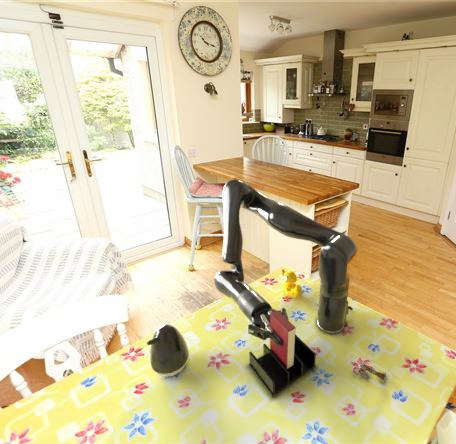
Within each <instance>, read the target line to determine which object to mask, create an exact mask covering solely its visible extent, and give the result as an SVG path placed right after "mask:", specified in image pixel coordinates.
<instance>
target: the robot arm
mask: <svg viewBox="0 0 456 444" xmlns="http://www.w3.org/2000/svg"><path fill="white" fill-rule="evenodd" d="M222 206H223V207H222V209H223V243H222V252H221V261H222V262H223V263H224V264H227V265H229V266H230V267H231V269H230V270H228V269H227V270H226V269H225V270H223V269H222V270H219V271H217V273H216V274H215V275H214V277H213V284H214V287H215V288H216V290H217V291H218V292H219V293H220V294H222V295H224V296H226V297H227V298H229V299H232V300H233V302H234V303H235V304H236V305H237V307H238V308H239V310H240V311H241V312H242V314H243V315H244V316H245V317H246V319H248V320H249V321H250V323H251V324H248V325H247V334H249V335H251V336H253V337H256V338H258V339H260V340H262V341H267V340H268V339H269V340H270V339H272V340H273V341H274V342H275V343H276V344H277V345H279V346H281V345H283V340H282V338H281V337H280V336H279V335H278V334H277V333H276V332H275V331H274V332H273V329H272V327H271V326H270V314H271V313H273V312H275V311H277V309H276V308H273V307H272V305H271V304H270V303H269V302H268V301H267V300H266V299H265V298H264V297H263V296H262V295H261V294H260V293H259V292H258V291H256V290H254V289H253V288H252V287H251V285H249V284H248V283H247V282H245V273H244V272H245V271H244V266H243V259H242V258H243V247H244V237H243V236H244V235H243V232H242V231H243V230H242V226H241V221H240V213H241V212H240V211H241V209H244V210H247V211H249V212H251V213H253V214H255V215H257V216H258V217H260V218H261V219H262V220H263V222H265V223H266V224H267V226H269V227H270V228H271V229H273V230H275V231H276V232H278V233H280V234H281V235H283V236H284V237H287V238H289V239H295V240H301V241H306V242H311V243H313V244H316V245H318V246H320V249H319V254H318V255H319V256H318V276H319V279H320V281H319V282H320V283H319V293H318V295H319V297H318V307H317V319H316V325H317V327H318V328H319V330H321V331H322V332H325V333H327V334H338V333H340V332H342V331H343V330H344V328H345V324H347V317H348V315H349V310H350V311H353V307H352V306H350V305H349V301H348V296H349V288H350V276H349V274H348V273H347V269H348V266H349V265H348V264H349V263H350V262H351V261H352V260H353V259H354V258H355V257H356V255H357V252H358V246H357V244H356V243H355V241H354V240H353V239H352V238H351V237H350V236H348V235H347V234H344V233H343V232H340V231H337V230H335V229H333V228H330V227H328V226H325V225H323V224H321V223H320V222H317V221H316V220H313V219H312V218H310V217H308V216H307V215H304V214H303V213H301V212H299V211H297V210H296V209H294V208H293V207H290V206H288V205H286V204H284V203H282V202H279V201H278V200H274V199H272V198H269V197H267V196H266V195H264V194H262V193H261V192H259V191H258V190H257V189H255V188H254V187H252V186H251V185H250V184H248V183H246V182H244V181H241V180H239V179H237V178H236V179H235V178H233V179H230V180H228V181H227V182H226V183H225V185H224V186H223V189H222ZM278 311H279V312H280V313H281V314H282V315H283V316H284V317H285V318H286V319H287V320H289V321H290V319H289V316H288V313H287V309H286V308H285V307H282V308H281V310H278Z"/></svg>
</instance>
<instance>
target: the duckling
mask: <svg viewBox="0 0 456 444" xmlns="http://www.w3.org/2000/svg"><path fill="white" fill-rule="evenodd" d="M281 275H282V277H283V280H284V282H283V283H282V288H283V291H284V294H285V295H287V296H288V297H291V298H294V299H298V298H300V297H302V296H303V295H302V294H303V288H302V286H301V284H296V282H297V281H298V277H297V274H296V273H295V272H294V271H292V270H287V271H285V269H281Z"/></svg>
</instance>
